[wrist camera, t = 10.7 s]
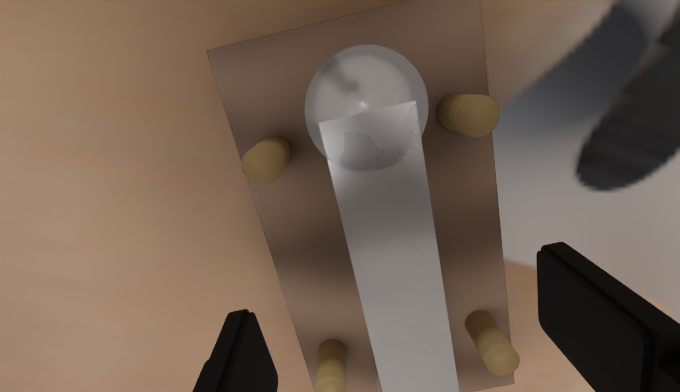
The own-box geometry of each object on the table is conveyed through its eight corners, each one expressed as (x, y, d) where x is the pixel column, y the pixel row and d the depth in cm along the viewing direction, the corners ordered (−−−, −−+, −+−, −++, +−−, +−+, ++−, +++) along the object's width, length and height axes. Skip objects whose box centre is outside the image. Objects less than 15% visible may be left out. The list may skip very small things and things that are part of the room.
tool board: (217, 54, 16) (175, 42, 12) (465, -8, 16) (514, -43, 12) (324, 398, 23) (321, 469, 19) (503, 364, 22) (542, 430, 18)
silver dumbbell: (304, 69, 15) (290, 61, 11) (392, 49, 15) (418, 30, 10) (378, 379, 21) (391, 466, 16) (444, 366, 20) (477, 451, 16)
